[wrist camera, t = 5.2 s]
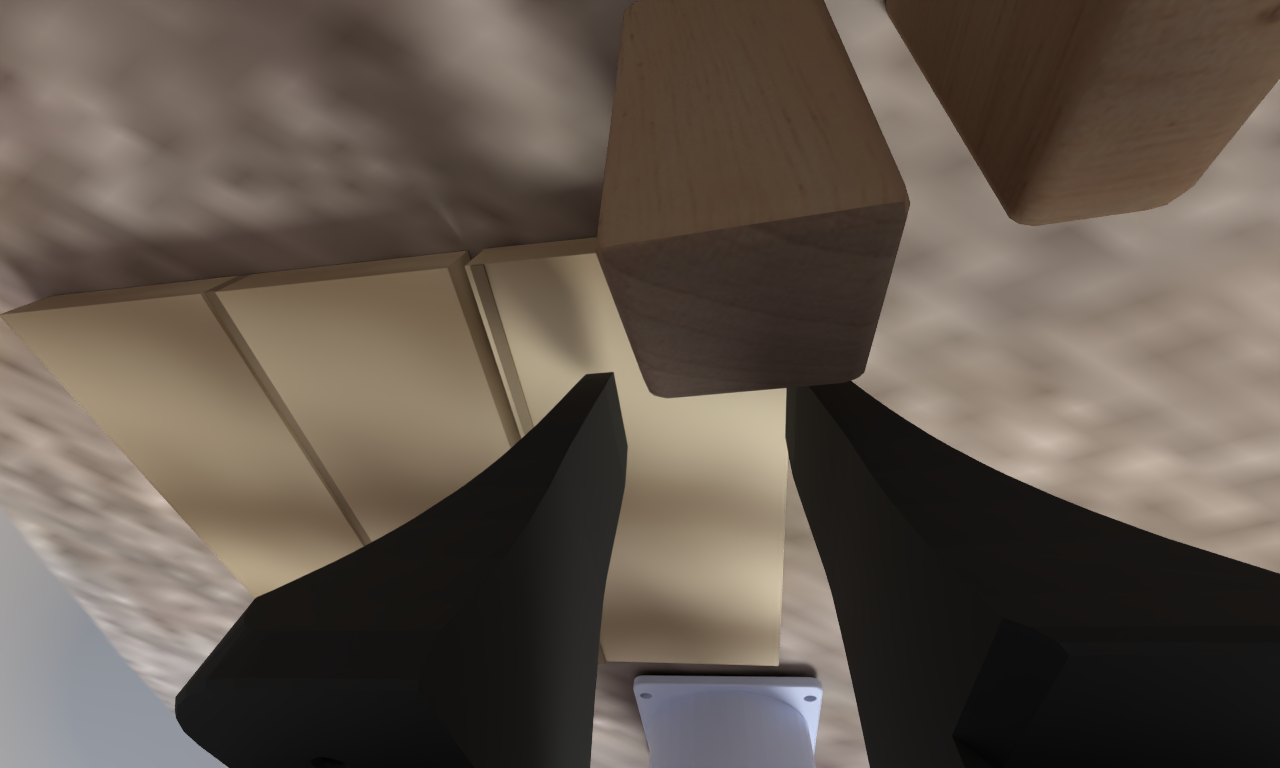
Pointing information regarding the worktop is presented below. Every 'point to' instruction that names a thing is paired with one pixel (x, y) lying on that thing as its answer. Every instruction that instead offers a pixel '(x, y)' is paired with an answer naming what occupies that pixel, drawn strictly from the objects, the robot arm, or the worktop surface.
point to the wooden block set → (880, 157)
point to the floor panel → (287, 400)
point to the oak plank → (652, 466)
